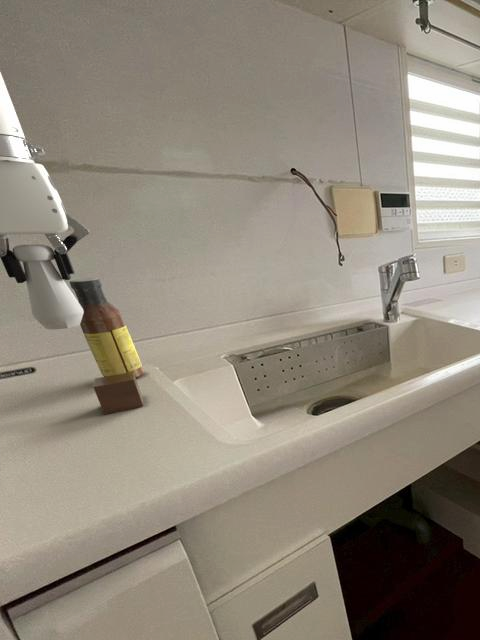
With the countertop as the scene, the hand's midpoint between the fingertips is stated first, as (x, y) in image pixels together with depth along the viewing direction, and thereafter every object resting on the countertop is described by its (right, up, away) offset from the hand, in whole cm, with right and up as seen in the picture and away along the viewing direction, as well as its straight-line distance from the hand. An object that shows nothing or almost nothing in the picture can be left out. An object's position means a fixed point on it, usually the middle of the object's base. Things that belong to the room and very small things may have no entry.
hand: (44, 279), depth 64 cm
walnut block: (+7, -21, +6) cm, 23 cm away
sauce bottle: (-4, -16, +18) cm, 24 cm away
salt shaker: (0, -7, +3) cm, 8 cm away
